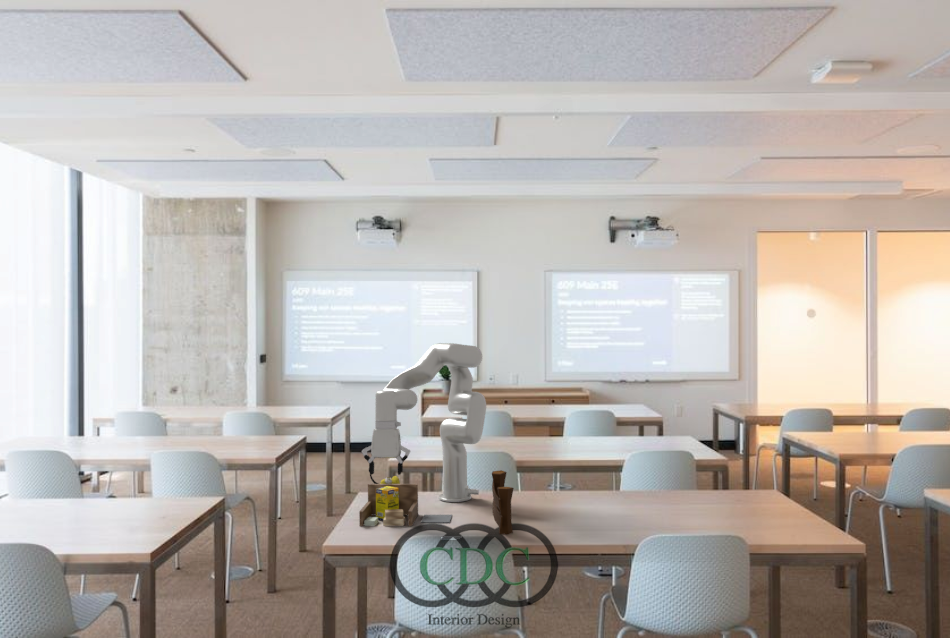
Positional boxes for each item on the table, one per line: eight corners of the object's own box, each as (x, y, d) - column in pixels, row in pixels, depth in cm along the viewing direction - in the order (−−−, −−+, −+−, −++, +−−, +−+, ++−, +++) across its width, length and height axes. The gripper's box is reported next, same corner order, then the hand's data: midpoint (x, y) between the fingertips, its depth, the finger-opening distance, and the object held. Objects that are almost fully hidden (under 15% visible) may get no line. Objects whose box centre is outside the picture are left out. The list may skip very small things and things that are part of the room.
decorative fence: (490, 510, 276) (490, 470, 276) (506, 510, 276) (505, 469, 276) (497, 536, 242) (496, 490, 242) (515, 536, 242) (514, 489, 242)
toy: (408, 470, 288) (369, 467, 287) (403, 507, 288) (364, 503, 286) (407, 467, 295) (369, 464, 293) (403, 503, 294) (364, 500, 292)
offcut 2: (402, 516, 261) (402, 509, 261) (403, 518, 258) (403, 511, 258) (385, 517, 260) (385, 509, 260) (385, 519, 257) (385, 512, 257)
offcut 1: (378, 523, 262) (378, 517, 262) (374, 526, 257) (374, 521, 257) (368, 522, 262) (368, 517, 262) (364, 526, 257) (364, 520, 257)
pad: (452, 515, 269) (452, 514, 269) (449, 523, 259) (449, 521, 259) (424, 515, 269) (424, 514, 269) (420, 523, 259) (420, 521, 259)
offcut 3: (405, 523, 260) (405, 516, 260) (403, 526, 256) (403, 519, 256) (385, 523, 261) (385, 516, 261) (383, 526, 257) (383, 519, 257)
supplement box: (387, 522, 261) (387, 490, 262) (375, 519, 265) (375, 488, 265) (399, 518, 266) (399, 487, 266) (387, 516, 270) (386, 485, 270)
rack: (418, 514, 272) (417, 483, 272) (411, 526, 256) (411, 493, 256) (368, 514, 273) (368, 483, 273) (359, 526, 257) (359, 493, 257)
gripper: (411, 424, 269) (411, 472, 269) (364, 424, 270) (363, 471, 270) (408, 426, 262) (408, 476, 261) (359, 426, 263) (359, 475, 262)
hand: (385, 474), depth 265 cm, fingers open, 9 cm apart
